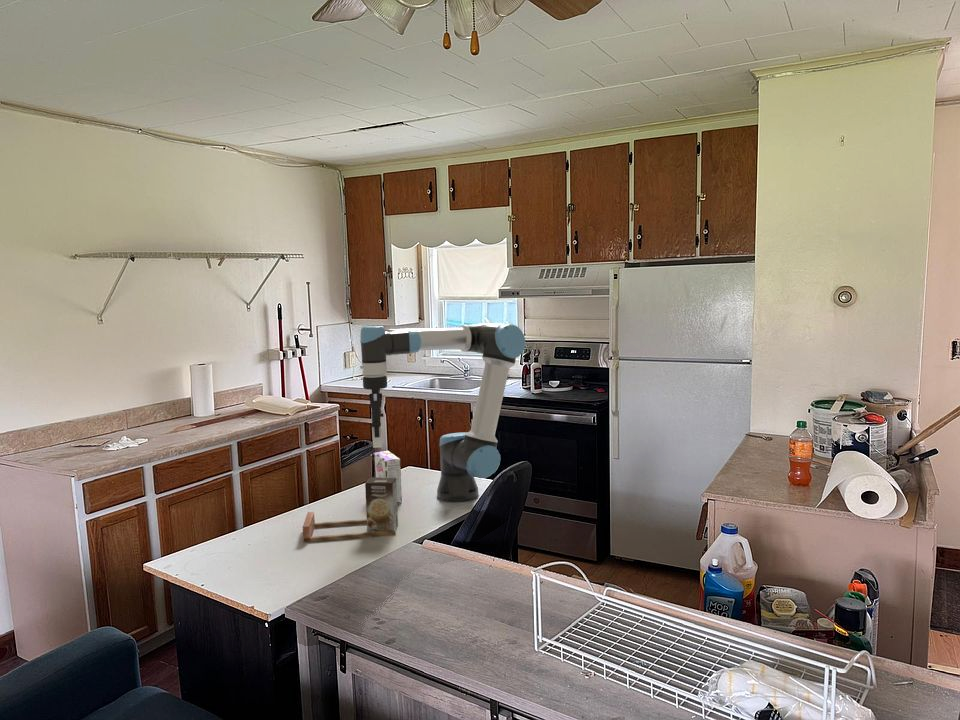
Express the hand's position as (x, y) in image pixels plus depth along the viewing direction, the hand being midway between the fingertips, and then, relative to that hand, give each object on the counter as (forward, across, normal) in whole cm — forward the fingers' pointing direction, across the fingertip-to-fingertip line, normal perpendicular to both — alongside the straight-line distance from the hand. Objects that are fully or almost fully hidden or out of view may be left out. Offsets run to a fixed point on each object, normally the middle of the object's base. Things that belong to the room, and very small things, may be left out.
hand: (378, 442), depth 213 cm
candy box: (+28, -30, +2) cm, 41 cm away
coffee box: (+28, 0, 0) cm, 29 cm away
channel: (+28, 0, -10) cm, 30 cm away
